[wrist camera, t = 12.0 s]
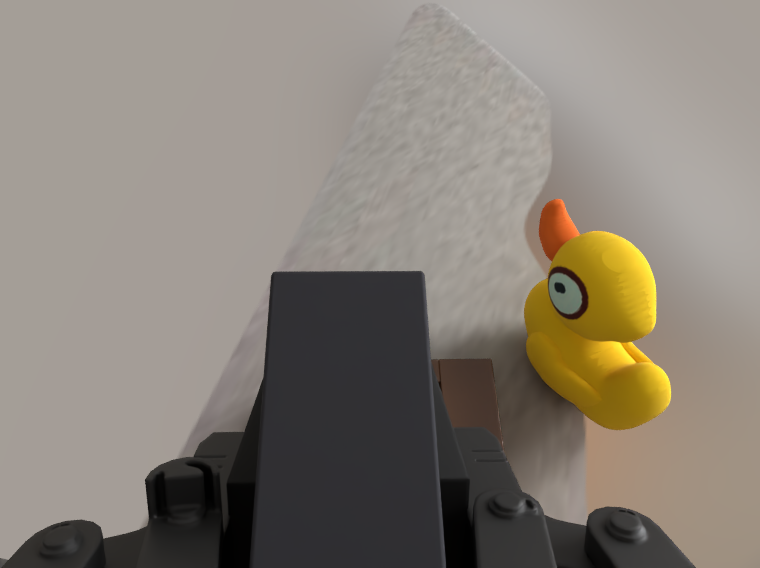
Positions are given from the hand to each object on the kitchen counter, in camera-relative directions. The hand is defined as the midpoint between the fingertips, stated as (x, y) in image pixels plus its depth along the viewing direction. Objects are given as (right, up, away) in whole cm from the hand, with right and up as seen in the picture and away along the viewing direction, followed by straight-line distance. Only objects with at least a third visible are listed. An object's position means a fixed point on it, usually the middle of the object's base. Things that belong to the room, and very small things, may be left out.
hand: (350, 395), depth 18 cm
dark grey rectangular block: (0, -5, +1) cm, 5 cm away
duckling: (+12, -1, +19) cm, 22 cm away
